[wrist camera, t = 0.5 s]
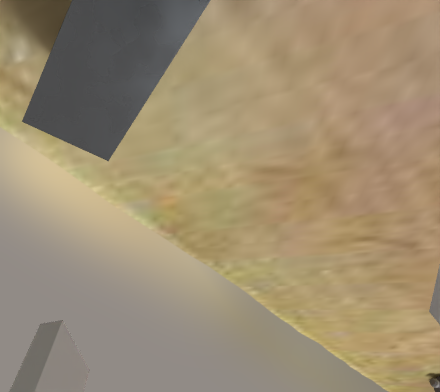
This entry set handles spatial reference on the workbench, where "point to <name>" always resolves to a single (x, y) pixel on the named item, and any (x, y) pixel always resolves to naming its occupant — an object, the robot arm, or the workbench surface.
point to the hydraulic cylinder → (435, 383)
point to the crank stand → (107, 68)
